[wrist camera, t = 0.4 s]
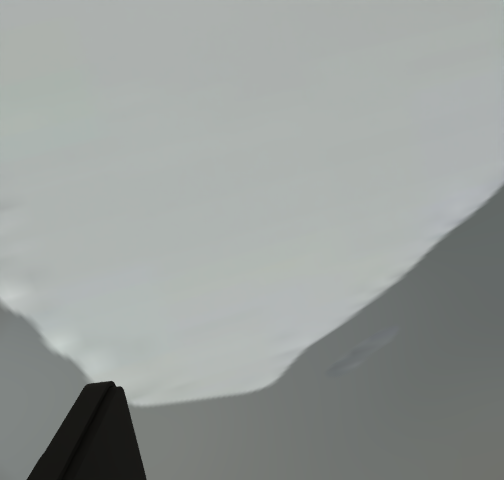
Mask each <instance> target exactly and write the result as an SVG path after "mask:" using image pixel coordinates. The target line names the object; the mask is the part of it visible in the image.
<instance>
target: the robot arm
mask: <svg viewBox="0 0 504 480" xmlns="http://www.w3.org/2000/svg"><path fill="white" fill-rule="evenodd" d="M27 480H146V475H145V471H144V468H143V463H142V460H141V456H140V452H139V448H138V444H137V440H136V436H135V432H134V428H133V424H132V420H131V416H130V412H129V408H128V404H127V400H126V396H125V392H124V389H123V388H122V387H121V386H119V387H116V385H115V383H114V382H113V381H107V382H100V383H92V384H87V385H86V386H85V387H84V388H83V390H82V392H81V393H80V395H79V397H78V398H77V400H76V402H75V403H74V405H73V406H72V408H71V410H70V411H69V413H68V415H67V416H66V418H65V420H64V421H63V423H62V425H61V426H60V428H59V429H58V431H57V433H56V434H55V436H54V438H53V439H52V441H51V443H50V444H49V446H48V448H47V449H46V451H45V453H44V454H43V455H42V456H41V457H40V459H39V460H38V462H37V464H36V465H35V467H34V469H33V470H32V472H31V474H30V475H29V477H28V479H27Z"/></svg>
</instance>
